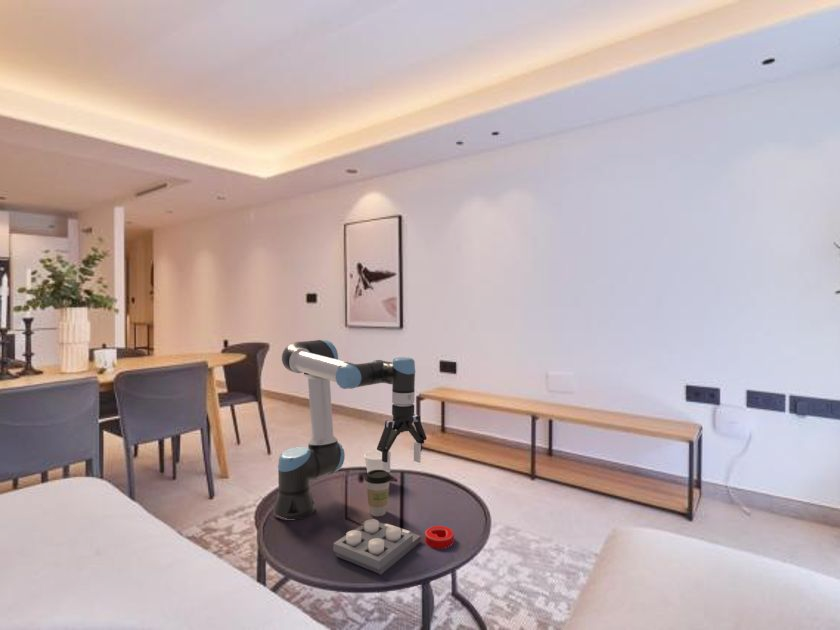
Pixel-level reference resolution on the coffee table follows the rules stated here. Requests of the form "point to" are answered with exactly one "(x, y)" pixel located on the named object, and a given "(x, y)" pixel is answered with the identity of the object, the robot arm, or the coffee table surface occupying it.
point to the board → (374, 562)
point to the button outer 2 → (393, 534)
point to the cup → (374, 460)
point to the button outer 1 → (376, 546)
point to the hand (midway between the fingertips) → (402, 466)
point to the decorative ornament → (439, 537)
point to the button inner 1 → (353, 538)
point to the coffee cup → (377, 491)
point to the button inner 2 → (371, 526)
